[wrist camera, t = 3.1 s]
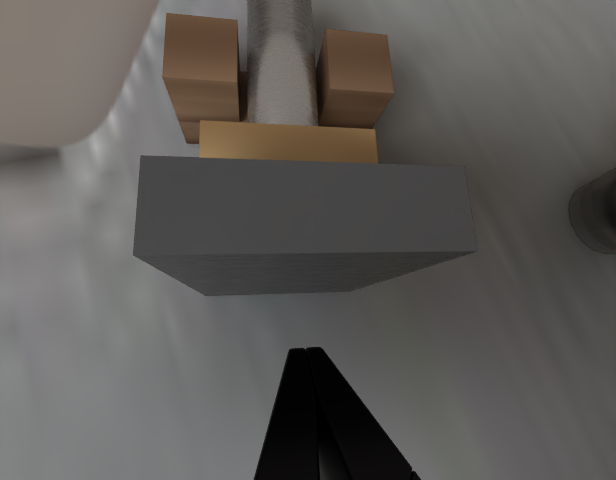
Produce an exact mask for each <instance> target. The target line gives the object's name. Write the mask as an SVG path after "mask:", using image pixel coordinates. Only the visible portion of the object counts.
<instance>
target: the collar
mask: <svg viewBox="0 0 616 480" xmlns="http://www.w3.org/2000/svg"><path fill="white" fill-rule="evenodd" d="M199 157H201V158H231V159H261V160H291V161H321V162H351V163H378V154H377V143H376V133H375V129H359V128H340V127H321V126H301V125H282V124H263V123H244V122H225V121H205V120H200V137H199Z"/></svg>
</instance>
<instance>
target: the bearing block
mask: <svg viewBox="0 0 616 480" xmlns="http://www.w3.org/2000/svg"><path fill="white" fill-rule="evenodd" d="M162 77H163V80H164V83H165V85H166V88H167V91H168V94H169V96H170V99H171V102H172V104H173V107H174V110H175V113H176V115H177V118H178V121H179V123H180V126H181V129H182V132H183V134H184V137H185V140H186V143H190V144H199V137H200V120H205V121H225V122H244V123H248V81H247V72H241V71H240V64H239V44H238V24H237V20H232V19H222V18H212V17H202V16H192V15H182V14H172V13H166V29H165V44H164V60H163V75H162ZM316 89H317V107H318V124H319V126H321V127H340V128H359V129H372V128H373V126H374V125H375V123H376V121H377V120H378V118H379V117H380V115H381V113H382V112H383V110H384V108H385V107H386V105H387V104H388V102H389V100H390V99H391V97H392V95H393V94H394V89H393V81H392V72H391V64H390V55H389V47H388V38H387V35H382V34H372V33H362V32H352V31H342V30H332V29H326V32H325V36H324V40H323V44H322V48H321V52H320V56H319V60H318V64H317V68H316Z"/></svg>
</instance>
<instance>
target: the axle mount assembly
mask: <svg viewBox="0 0 616 480" xmlns="http://www.w3.org/2000/svg"><path fill="white" fill-rule="evenodd" d="M247 81H248V123H263V124H282V125H301V126H319V124H318V107H317V89H316V72H315V54H314V37H313V19H312V2H311V0H247ZM476 251H478V248H477V242H476V236H475V230H474V224H473V218H472V212H471V206H470V199H469V193H468V187H467V181H466V175H465V169H464V166H441V165H411V164H381V163H351V162H321V161H291V160H261V159H231V158H201V157H171V156H141V158H140V171H139V184H138V197H137V210H136V223H135V236H134V249H133V256H135V257H137V258H139V259H141V260H142V261H144V262H146V263H148V264H150V265H151V266H153V267H155V268H157V269H158V270H160V271H162V272H164V273H166V274H167V275H169V276H171V277H173V278H175V279H176V280H178V281H180V282H182V283H184V284H185V285H187V286H189V287H191V288H192V289H194V290H196V291H198V292H200V293H201V294H203V295H205V296H219V295H251V294H282V293H314V292H345V291H353V290H356V289H359V288H362V287H365V286H369V285H372V284H375V283H378V282H381V281H384V280H388V279H391V278H394V277H397V276H400V275H403V274H407V273H410V272H413V271H416V270H419V269H423V268H426V267H429V266H432V265H435V264H438V263H442V262H445V261H448V260H451V259H454V258H457V257H461V256H464V255H467V254H470V253H473V252H476Z"/></svg>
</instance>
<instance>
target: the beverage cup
mask: <svg viewBox="0 0 616 480" xmlns="http://www.w3.org/2000/svg"><path fill="white" fill-rule="evenodd" d="M569 215H570V220H571V224H572V226H573V228H574V230H575V231H576V233H577V235H578V236H579V237H580V238H581V240H582V241H583V242H584V243H585V244H586V245H588V246H589V247H591V248H592V249H594V250H595V251H598V252H601V253H604V254H616V168H614V169H612V170H611V171H609V172H607V173H605V174H603V175H602V176H601V177H599V178H597V179H596V180H594V181H592V182H590V183H589V184H588V185H585V186H583V187H580V188H579V189H578V190H577V191H576V192H575V193H574V194H573V195H572V198H571V200H570V203H569Z"/></svg>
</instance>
